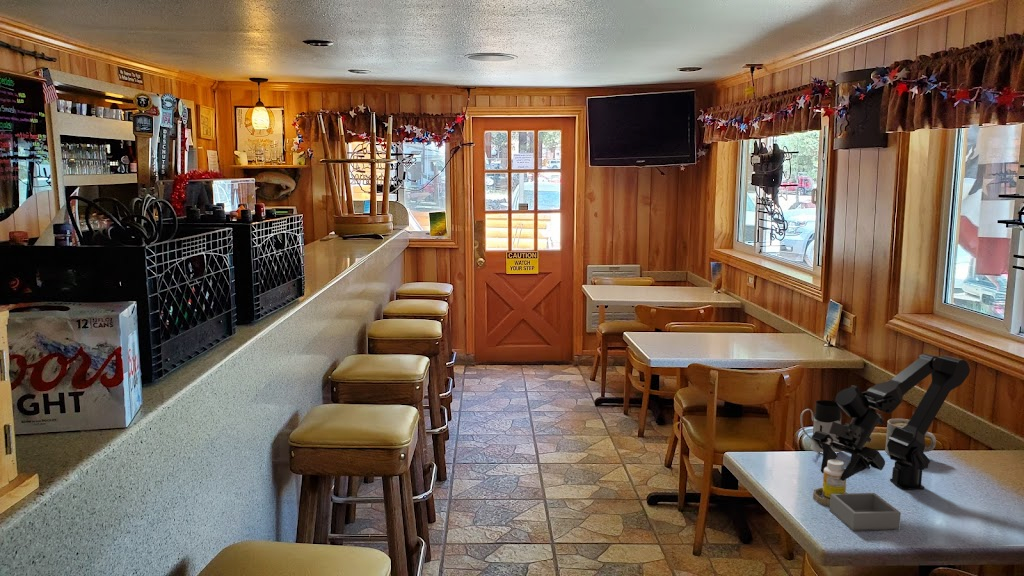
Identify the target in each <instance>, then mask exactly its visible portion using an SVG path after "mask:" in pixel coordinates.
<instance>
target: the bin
mask: <svg viewBox="0 0 1024 576" xmlns="http://www.w3.org/2000/svg"><path fill="white" fill-rule="evenodd" d="M829 512H830V513H832V514H833V515H834V516H835V517H836V518H837V519H838V520H839V521H841V522H842V523H843V524H844V525H845V526H846V527H847V528H849V530H850V531H852V532H879V531H880V532H881V531H883V532H884V531H885V532H886V531H900V527H901V526H900V525H901V524H900V523H901V514H902V513H901V511H899V510H898V509H897V508H896V507H894V506H893V505H891V504H890V503H889V502H887V501H886V500H885V499H883V498H882V497H881V496H880V495H878V494H877V493H876V492H865V493H864V492H861V493H860V492H859V493H858V492H857V493H855V492H854V493H853V492H851V493H848V492H847V493H846V494H831V496H830V507H829Z"/></svg>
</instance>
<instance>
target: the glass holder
mask: <svg viewBox="0 0 1024 576" xmlns="http://www.w3.org/2000/svg"><path fill="white" fill-rule="evenodd" d="M814 405H815V406H814V408H815V409H814V412H813V410H811V408H806V409H804V410H802V412H801V413H800V419H799V420H800V427H801V430H802V432H803V433H804V435H806V437H808V438H809V440H811V441H812V442H811V446H810V450H811V451H813V452H815V453H818V452H823V449H821V448H819V446H818V445H817V444H816V443H815V441H814V440H813V439H812V438H811V437H812V436H810V435H809V434H808V433H807V431H806V430H805V428H804V424H803V417H804V416H803V415H804V413H805V412H807V411H810V414H811V421H812V422H813V425H812V427H813V428H812V435H813V434H814V433H815V432H816V431H821V432H824V433H827V434H829V435H830V436H831V437H832V438H833V440H834V441H837V442H839V440H838V439H836V437H835V436H836V435H835V434H831V433H829V431H830V428H831V425H832V422H836V423H839V424H842V409H841V407H840V406H839V405H838V404H837V403H836V401H835V400H829V399H828V400H827V399H824V400H823V399H820V400H818V399H817V400H816V401H815V404H814ZM835 452H840V453H841V450H838V449H836V450H835Z"/></svg>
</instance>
